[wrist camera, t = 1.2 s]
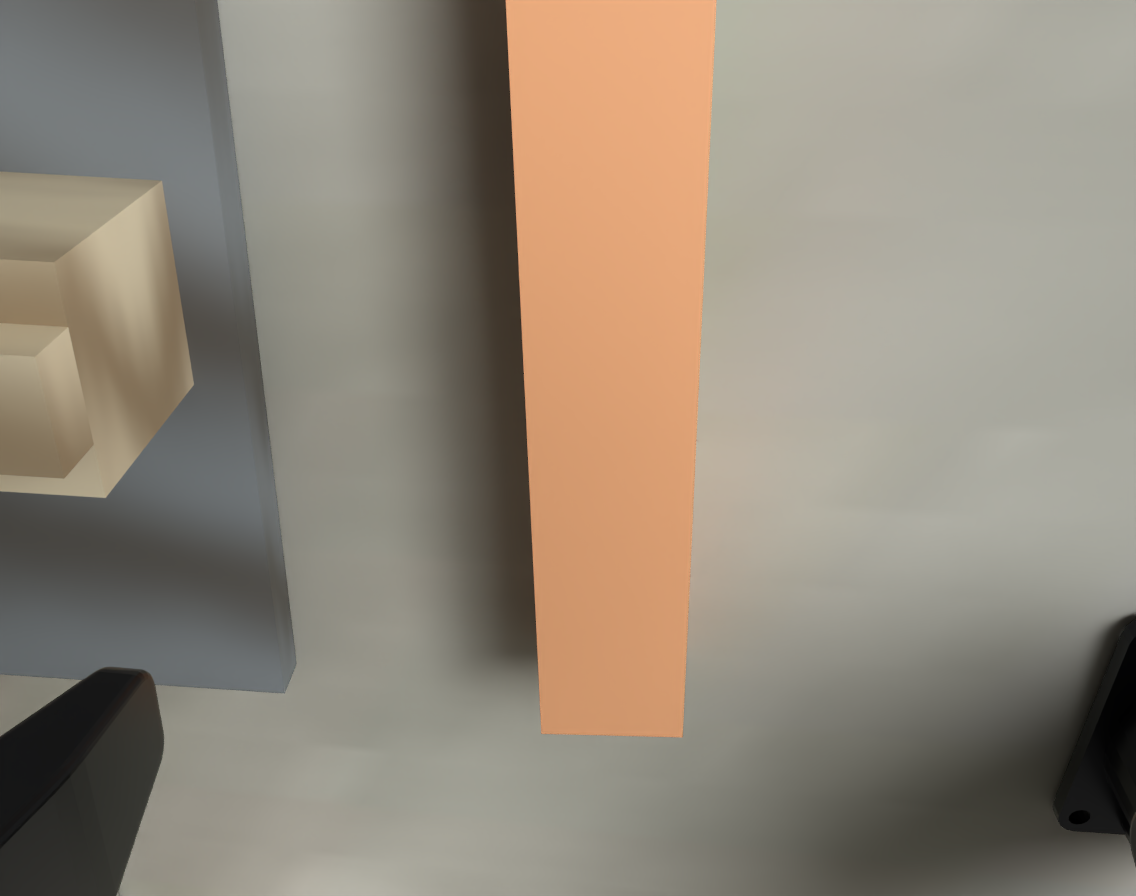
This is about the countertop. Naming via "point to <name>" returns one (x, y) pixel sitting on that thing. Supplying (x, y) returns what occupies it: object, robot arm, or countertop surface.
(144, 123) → the ridge
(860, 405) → the countertop surface
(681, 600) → the bar
